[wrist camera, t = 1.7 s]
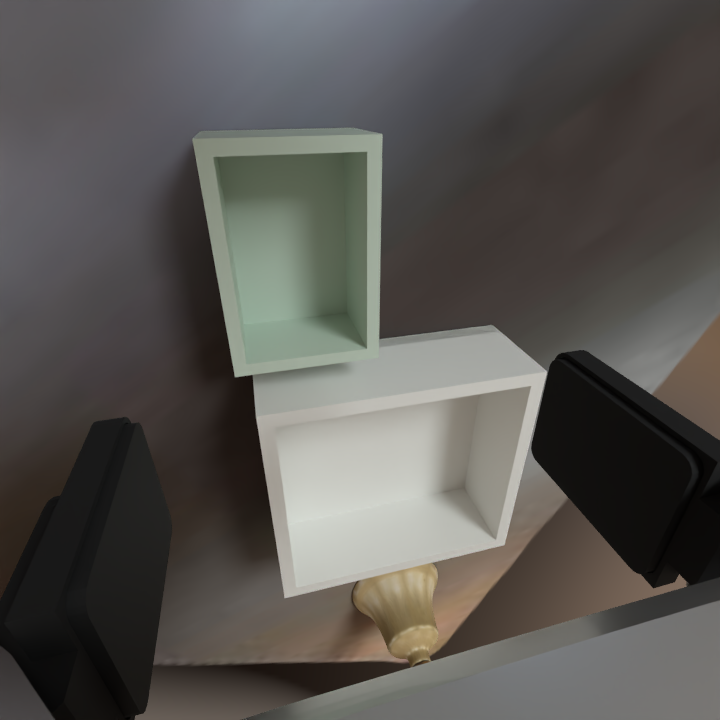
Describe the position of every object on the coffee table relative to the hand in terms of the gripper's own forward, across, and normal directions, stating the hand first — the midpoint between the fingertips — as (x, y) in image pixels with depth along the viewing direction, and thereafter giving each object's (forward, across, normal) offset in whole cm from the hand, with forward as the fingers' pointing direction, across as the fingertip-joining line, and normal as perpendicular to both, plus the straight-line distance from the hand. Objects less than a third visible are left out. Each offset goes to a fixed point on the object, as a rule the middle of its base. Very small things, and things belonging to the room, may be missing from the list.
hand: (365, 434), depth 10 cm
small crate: (+16, 0, -1) cm, 16 cm away
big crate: (+16, -5, +13) cm, 21 cm away
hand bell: (+17, -7, +32) cm, 37 cm away
